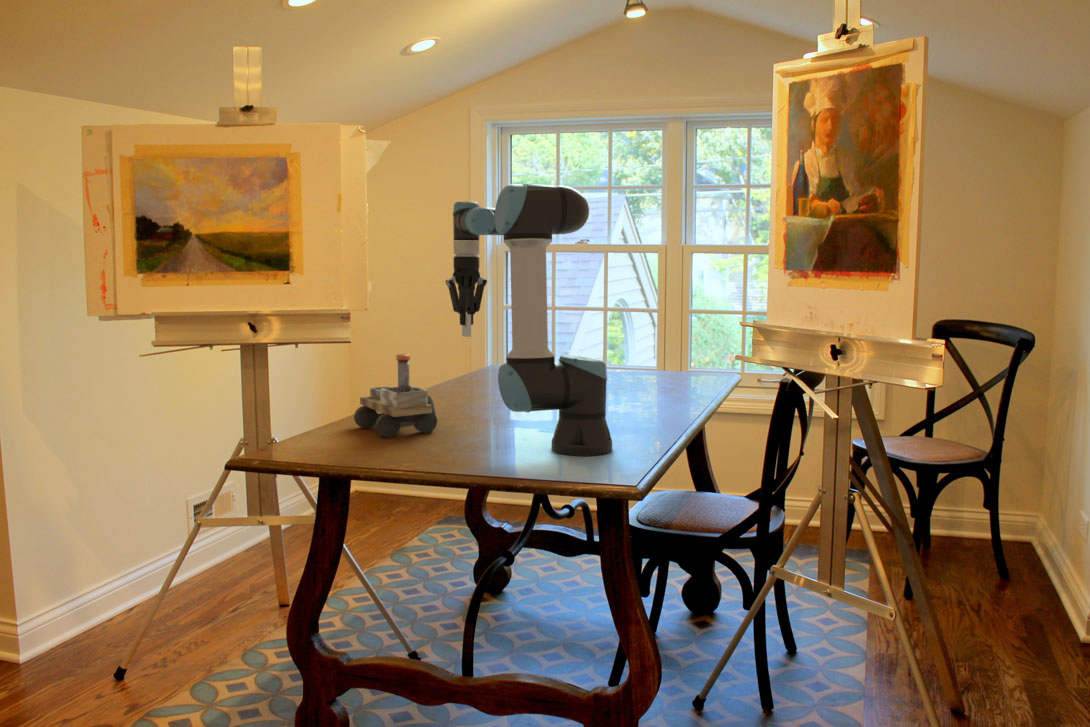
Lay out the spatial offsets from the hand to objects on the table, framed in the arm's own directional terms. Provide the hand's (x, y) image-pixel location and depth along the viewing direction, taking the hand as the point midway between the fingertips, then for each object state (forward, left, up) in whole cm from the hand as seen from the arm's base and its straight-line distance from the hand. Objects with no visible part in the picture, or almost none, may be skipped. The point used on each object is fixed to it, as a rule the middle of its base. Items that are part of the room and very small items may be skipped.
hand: (466, 336), depth 258 cm
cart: (-8, +27, -24) cm, 37 cm away
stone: (+2, +14, -24) cm, 28 cm away
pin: (-14, +27, -16) cm, 34 cm away
